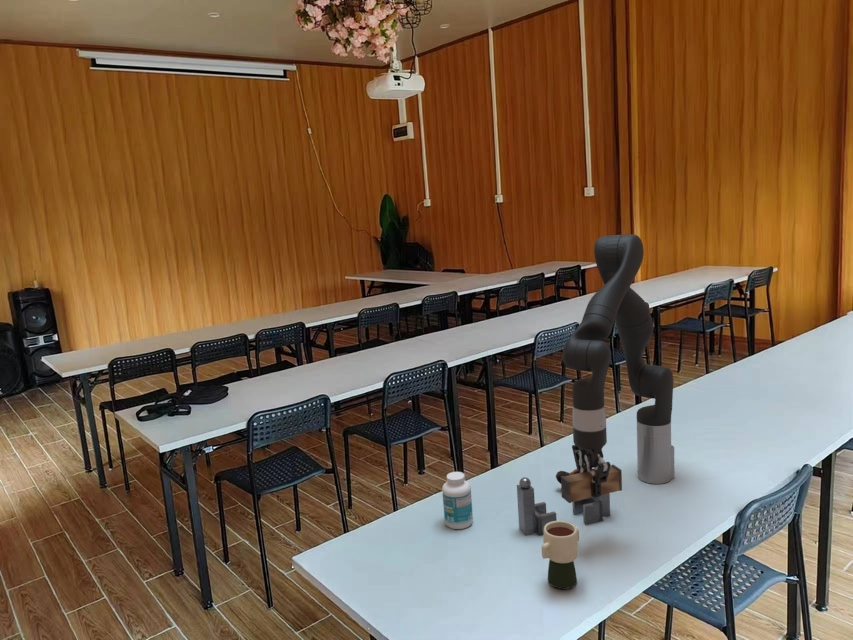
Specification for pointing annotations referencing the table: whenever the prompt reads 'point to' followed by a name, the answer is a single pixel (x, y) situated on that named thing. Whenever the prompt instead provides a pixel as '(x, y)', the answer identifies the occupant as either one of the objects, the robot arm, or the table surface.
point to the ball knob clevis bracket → (537, 518)
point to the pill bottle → (457, 501)
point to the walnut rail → (589, 485)
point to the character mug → (561, 553)
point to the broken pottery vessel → (565, 474)
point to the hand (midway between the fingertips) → (591, 492)
